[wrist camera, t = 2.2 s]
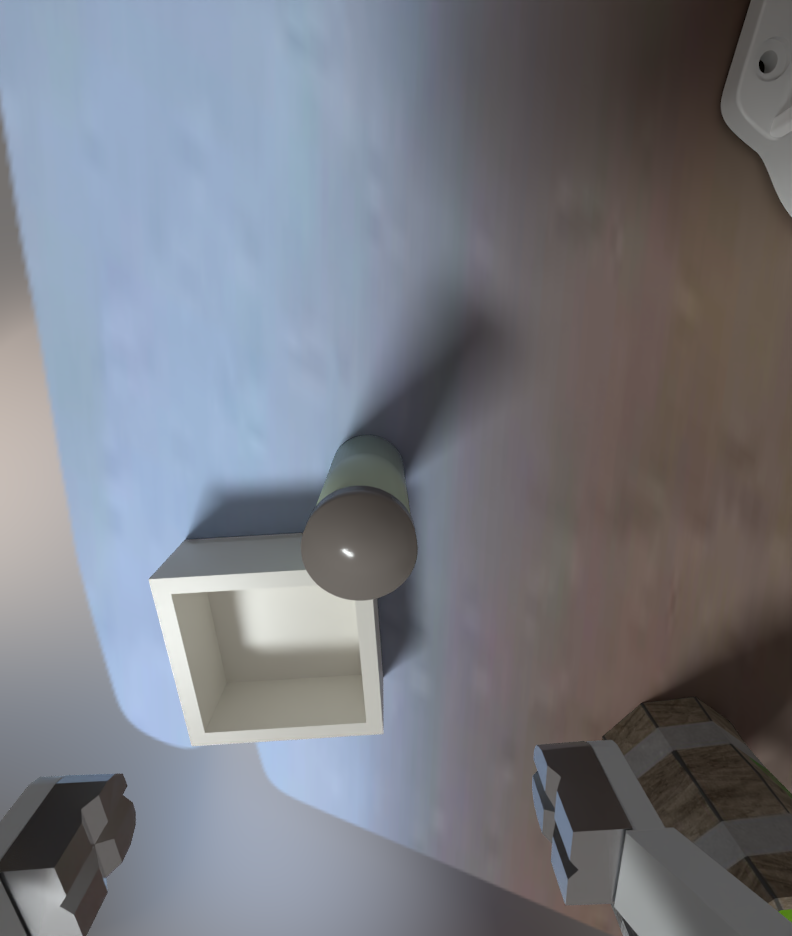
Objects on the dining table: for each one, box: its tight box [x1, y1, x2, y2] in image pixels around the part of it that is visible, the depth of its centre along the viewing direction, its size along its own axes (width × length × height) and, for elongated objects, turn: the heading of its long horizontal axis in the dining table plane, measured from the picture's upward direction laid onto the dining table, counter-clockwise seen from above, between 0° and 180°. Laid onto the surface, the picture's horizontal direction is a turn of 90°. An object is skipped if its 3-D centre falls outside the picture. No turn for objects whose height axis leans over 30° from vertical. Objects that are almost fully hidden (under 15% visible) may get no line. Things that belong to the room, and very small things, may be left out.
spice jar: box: [301, 435, 418, 601], centre depth 22 cm, size 5×5×10 cm
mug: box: [602, 697, 792, 922], centre depth 30 cm, size 16×11×12 cm
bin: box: [149, 533, 383, 746], centre depth 28 cm, size 12×12×5 cm
